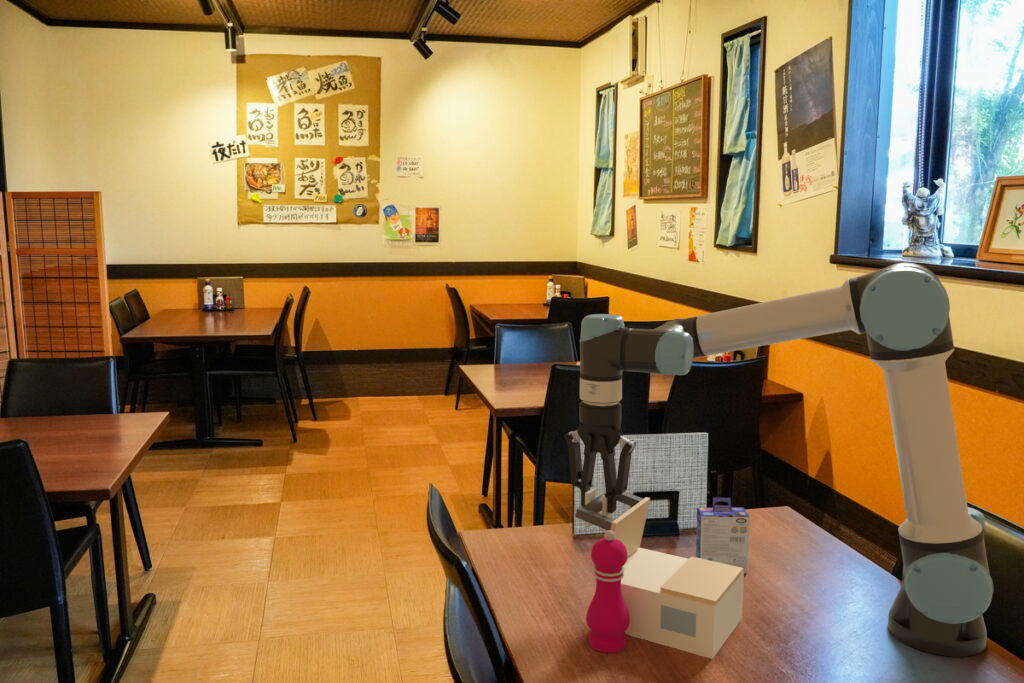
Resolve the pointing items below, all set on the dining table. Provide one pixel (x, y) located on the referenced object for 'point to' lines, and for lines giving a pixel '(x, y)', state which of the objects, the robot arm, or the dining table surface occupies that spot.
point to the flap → (619, 519)
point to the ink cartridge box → (723, 534)
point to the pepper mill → (608, 596)
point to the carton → (682, 600)
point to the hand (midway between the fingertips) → (598, 526)
